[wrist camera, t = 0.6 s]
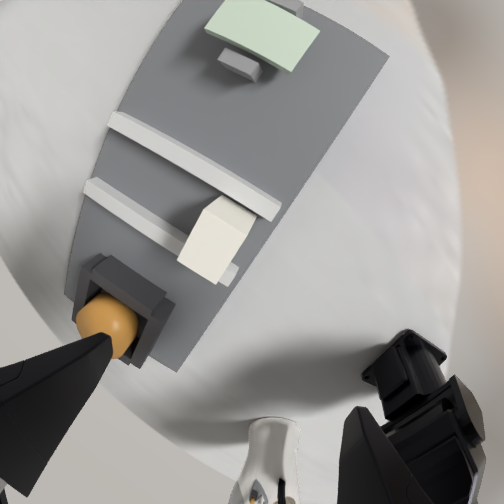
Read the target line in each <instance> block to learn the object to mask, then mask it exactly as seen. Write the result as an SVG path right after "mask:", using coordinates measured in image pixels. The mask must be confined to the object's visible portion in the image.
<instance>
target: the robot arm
mask: <svg viewBox="0 0 504 504" xmlns="http://www.w3.org/2000/svg"><path fill="white" fill-rule="evenodd" d="M410 335H411V336H410ZM409 336H410V337H409ZM112 356H113V345H112V338H111V336H110V335H108V334H106V333H104V332H99V333H96V334H94V335H91V336H89V337H86V338H83V339H81V340H78V341H75V342H73V343H70V344H67V345H64V346H62V347H59V348H56V349H54V350H51V351H48V352H45V353H43V354H40V355H38V356H35V357H32V358H29V359H26V360H25V361H24V360H23V361H21V362H18V363H15V364H12V365H8V366H5V367H1V368H0V504H8V502H7V498H6V494H5V490H4V487H5V486H6V484H9V485H10V486H12V487H13V488H14V489H16V490H17V491H18V492H20V493H21V494H23V495H24V496H26V497H28V496H29V494H30V492H31V491H32V489H33V487H34V485H35V483H36V482H37V480H38V478H39V477H40V475H41V473H42V471H43V470H44V468H45V466H46V465H47V463H48V461H49V459H50V457H51V456H52V455H53V453H54V451H55V450H56V448H57V446H58V445H59V443H60V442H61V440H62V438H63V437H64V435H65V434H66V432H67V431H68V429H69V427H70V426H71V424H72V423H73V421H74V420H75V418H76V417H77V415H78V414H79V412H80V410H81V409H82V407H83V406H84V405H85V403H86V402H87V400H88V398H89V397H90V396H91V394H92V393H93V391H94V389H95V388H96V386H97V384H98V383H99V381H100V379H101V377H102V375H103V373H104V371H105V369H106V367H107V366H108V364H109V362H110V360H111V358H112ZM446 358H447V355H446V353H445V352H443V351H442V350H441V349H439V348H438V347H436V346H435V345H433V344H432V343H431V342H429V341H428V340H426V339H425V338H423V337H422V336H420V335H419V334H418V333H416V332H415V331H413V330H408V331H407V332H406V333H405V334H404V335H403V336H402V337H401V338H400V339H399V340H398V341H397V342H396V343H394V344H393V345H392V346H391V347H390V348H389V349H388V350H387V351H386V352H385V353H384V354H383V355H382V356H381V357H380V358H379V359H378V360H376V361H375V362H374V363H373V364H372V365H371V366H370V367H369V368H367V369H366V370H365V371H364V372H363V373H362V374H361V377H362V380H363V381H365V382H367V383H370V384H372V385H374V386H376V387H377V389H378V394H379V398H380V400H381V402H382V407H383V411H384V416H385V419H387V420H388V422H387V423H386V424H384V425H382V426H381V427H380V426H379V425H378V423H377V422H376V420H375V419H374V417H373V416H372V414H371V413H370V411H369V410H368V409H367V408H366V407H361V406H356V407H355V408H354V409H353V410H352V411H351V413H350V414H349V415H348V417H347V418H346V420H345V422H344V429H343V436H342V444H341V451H340V458H339V481H338V498H337V504H478V502H477V496H478V492H479V489H480V485H481V481H482V477H483V473H484V469H485V464H486V456H485V454H484V451H483V449H482V446H481V443H482V442H483V441H484V440H485V431H484V423H483V416H482V411H481V409H480V407H479V405H478V403H477V401H476V399H475V397H474V396H473V394H472V392H471V391H470V390H469V389H468V388H467V387H466V386H465V385H464V384H463V383H462V382H461V380H460V379H459V378H458V377H457V376H456V375H453V376H452V377H451V378H450V379H449V381H447V382H446V380H445V378H444V376H443V373H442V371H441V369H440V367H439V365H441V364H442V363H443V362H444V361H445V360H446Z"/></svg>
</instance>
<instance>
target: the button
mask: <svg viewBox="0 0 504 504" xmlns="http://www.w3.org/2000/svg"><path fill="white" fill-rule="evenodd" d="M76 325H77V329H78V331H79V333H80V335H81V337H82V338H86V337H89V336H91V335H94V334H96V333H99V332H104V333H106V334H108V335H110V336H111V338H112V345H113V356H112V358H111V359H116V358H119V357H121V356H122V355H123V354H124V352H125V351H126V350H127V348H128V347H129V345H130V344H131V343H132V341H133V340H134V339H135V337H136V336H137V335H138V332H139V322H138V318H137V316H136V314H135V312H134V311H133V310H132V309H131V308H130V307H128V306H127V305H125V304H124V303H122V302H121V301H119V300H118V299H117V298H115V297H114V296H112V295H111V294H110V293H108V292H103V293H100V294H98V295H97V296H96V297H94V298H93V299H92V300H91V301H90V302H89V303H88V304H87V305H86V306H85V307H83V308H82V309H81V310H80V311H79V312H78V314H77V316H76Z"/></svg>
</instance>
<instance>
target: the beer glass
mask: <svg viewBox="0 0 504 504" xmlns="http://www.w3.org/2000/svg"><path fill="white" fill-rule="evenodd" d="M300 437H301V428H300V427H299V425H298V424H296V423H295V422H293V421H291V420H288V419H284V418H278V417H267V418H261V419H258V420H256V421H254V422H253V423H251V425H250V426H249V448H248V453H247V457H246V460H245V462H244V465H243V467H242V469H241V472H240V474H239V476H238V478H237V480H236V483H235V485H234V487H233V490H232V493H231V495H230V499H229V502H228V504H301V499H300V487H299V480H298V473H297V465H296V453H297V447H298V444H299V440H300Z"/></svg>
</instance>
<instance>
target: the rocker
mask: <svg viewBox="0 0 504 504" xmlns="http://www.w3.org/2000/svg"><path fill="white" fill-rule="evenodd" d="M204 29H205V31H206V33H208V34H210V35H212V36H215V37H217V38H219V39H221V40H224V41H226V42H228V43H230V44H232V45H234V46H236V47H238V48H240V49H243V50H245V51H246V52H248V53H250V54H252V55H254V56H256V57H258V58H260V59H262V60H264V61H265V62H267V63H269V64H271V65H273V66H274V67H276V68H278V69H280V70H281V71H283V72H285V73H286V74H289V73H291V72H292V70H293V69H294V67H295V66H296V64H297V63H298V62H299V60H300V59H301V57H302V56H303V54H304V53H305V52H306V50H307V49H308V47H309V46H310V45H311V43H312V42H313V41H314V39H315V38H316V37H317V35H318V34H319V32H320V30H318V29H317V28H315V27H313V26H312V25H310V24H308V23H307V22H305V21H303V20H302V19H300V18H298V17H296V16H294V15H293V14H291V13H289V12H287V11H285V10H283V9H281V8H279V7H278V6H276V5H274V4H272V3H269V2H267V1H265V0H225V1H224V2H223V4H222V5H221V6H220V7H219V9H218V10H217V11H216V13H215V14H214V15H213V17H212V18H211V19H210V21H209V22H208V23H207V25H206V26H205V28H204Z"/></svg>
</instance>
